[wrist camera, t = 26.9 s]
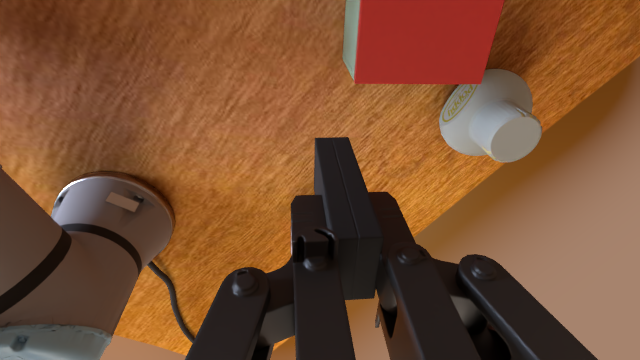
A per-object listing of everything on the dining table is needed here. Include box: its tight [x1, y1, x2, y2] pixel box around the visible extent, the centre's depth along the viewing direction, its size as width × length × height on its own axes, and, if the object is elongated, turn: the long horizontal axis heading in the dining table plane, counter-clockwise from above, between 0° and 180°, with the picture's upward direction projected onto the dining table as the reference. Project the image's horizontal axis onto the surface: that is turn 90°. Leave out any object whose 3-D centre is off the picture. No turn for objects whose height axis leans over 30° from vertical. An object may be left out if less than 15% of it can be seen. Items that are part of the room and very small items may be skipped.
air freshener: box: [439, 69, 542, 163], centre depth 41 cm, size 11×8×10 cm
